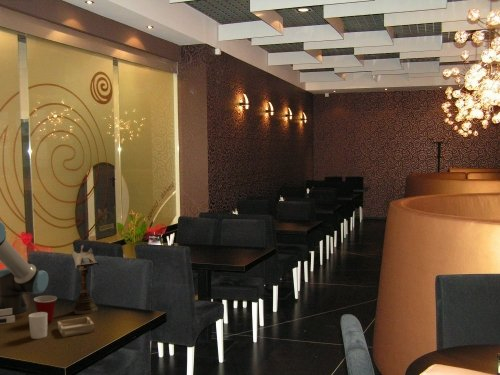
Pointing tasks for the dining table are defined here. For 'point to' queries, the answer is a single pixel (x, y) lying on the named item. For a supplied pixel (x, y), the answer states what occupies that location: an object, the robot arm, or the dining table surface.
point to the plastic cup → (46, 305)
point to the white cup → (38, 325)
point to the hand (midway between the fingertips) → (13, 314)
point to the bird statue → (84, 281)
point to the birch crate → (75, 326)
